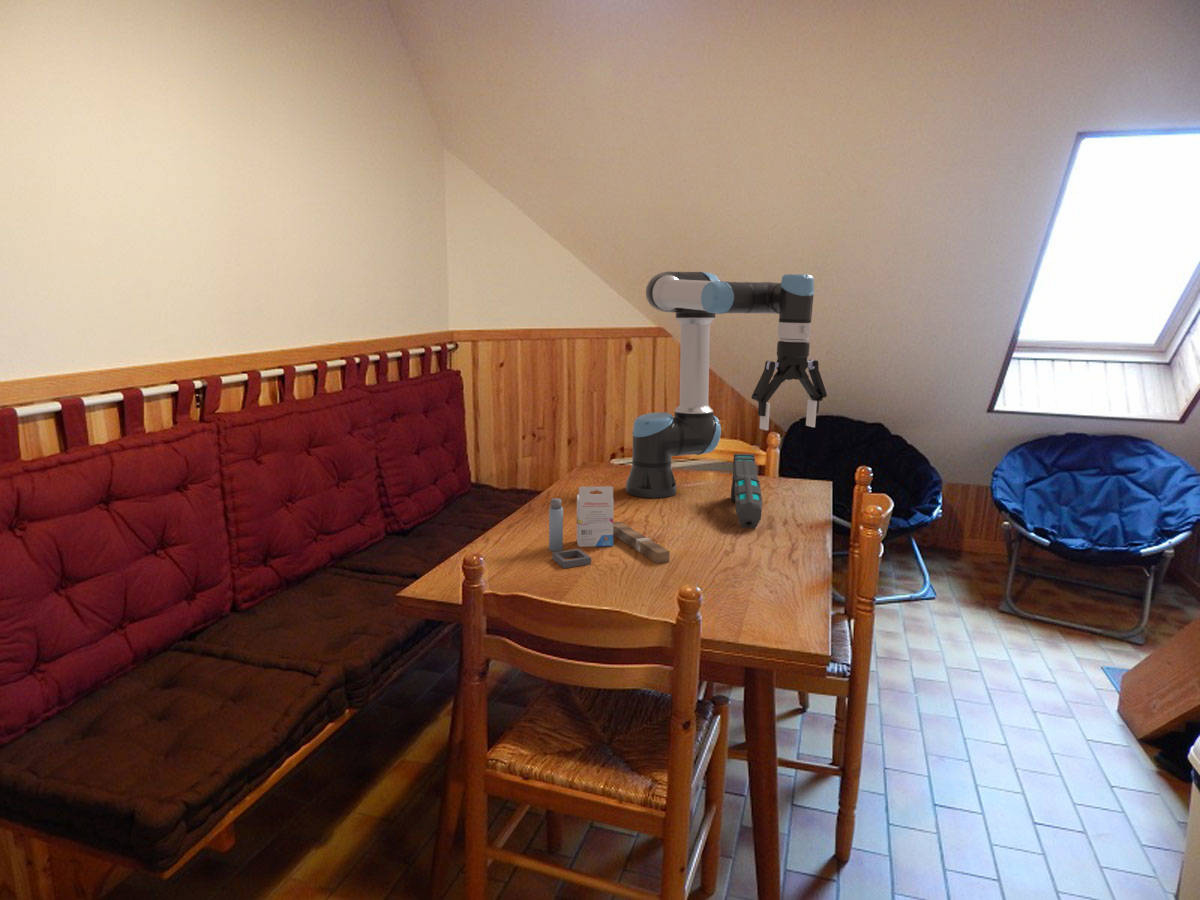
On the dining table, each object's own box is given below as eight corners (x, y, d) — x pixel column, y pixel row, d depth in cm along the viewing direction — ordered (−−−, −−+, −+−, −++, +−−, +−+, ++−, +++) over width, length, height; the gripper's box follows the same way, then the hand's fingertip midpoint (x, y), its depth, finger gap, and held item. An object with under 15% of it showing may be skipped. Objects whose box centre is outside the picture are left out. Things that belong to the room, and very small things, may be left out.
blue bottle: (547, 547, 181) (547, 498, 178) (559, 546, 182) (559, 497, 179) (552, 552, 178) (552, 502, 175) (564, 550, 179) (565, 500, 177)
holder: (552, 558, 173) (552, 552, 173) (578, 554, 176) (578, 548, 176) (563, 568, 168) (563, 561, 167) (591, 564, 170) (591, 557, 170)
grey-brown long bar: (609, 532, 192) (609, 522, 192) (620, 531, 194) (620, 521, 193) (657, 563, 171) (657, 552, 171) (669, 561, 173) (669, 550, 172)
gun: (752, 492, 227) (755, 448, 219) (759, 553, 201) (763, 506, 194) (729, 491, 227) (732, 447, 220) (733, 552, 202) (737, 505, 195)
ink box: (610, 539, 187) (612, 481, 184) (613, 546, 182) (614, 486, 179) (576, 540, 186) (576, 481, 183) (577, 547, 181) (578, 486, 178)
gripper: (758, 342, 175) (752, 433, 180) (846, 341, 185) (838, 427, 189) (740, 339, 182) (735, 427, 187) (826, 338, 192) (819, 422, 196)
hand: (787, 427), depth 188 cm, fingers open, 13 cm apart
